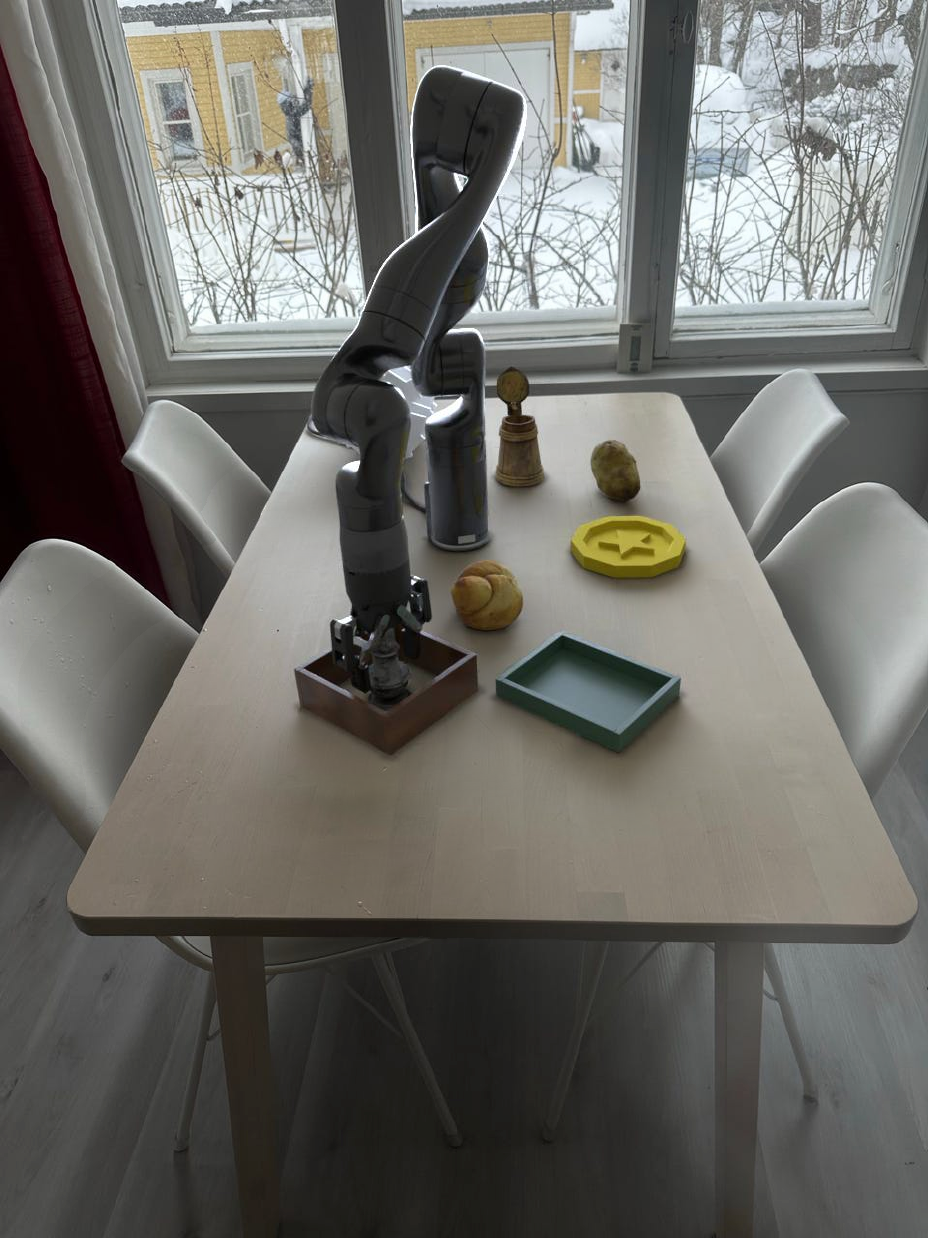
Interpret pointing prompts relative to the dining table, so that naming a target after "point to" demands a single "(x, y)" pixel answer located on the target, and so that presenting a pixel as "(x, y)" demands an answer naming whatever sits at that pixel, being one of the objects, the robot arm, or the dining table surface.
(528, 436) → the wooden mug
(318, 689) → the open box
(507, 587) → the bread roll
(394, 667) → the salt shaker
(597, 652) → the tray
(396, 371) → the spiral staircase
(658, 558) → the decorative disc
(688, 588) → the dining table surface
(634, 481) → the potato
